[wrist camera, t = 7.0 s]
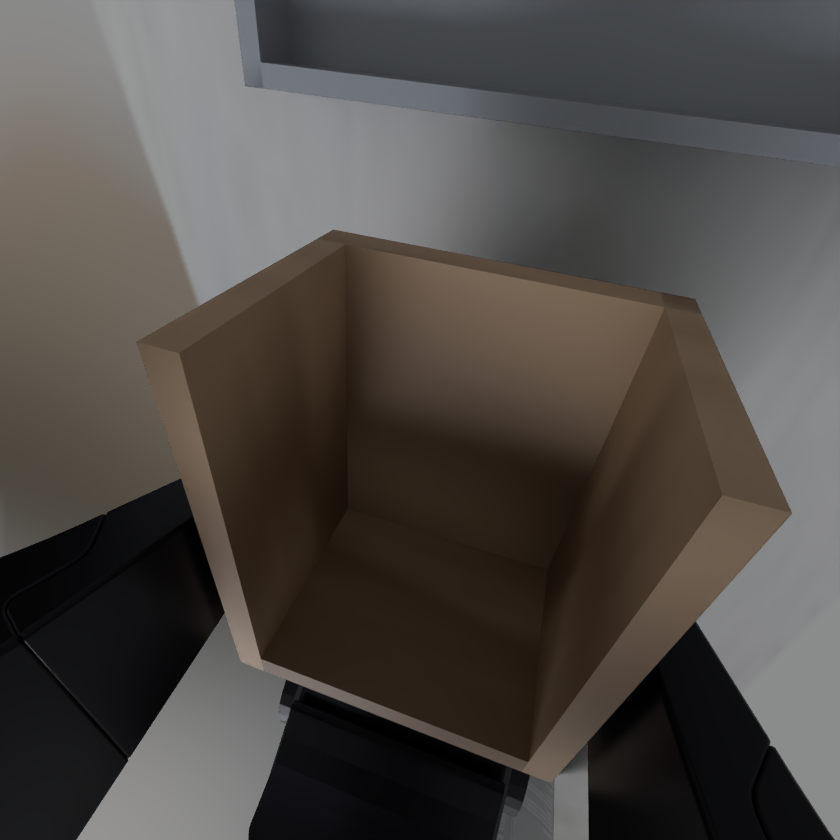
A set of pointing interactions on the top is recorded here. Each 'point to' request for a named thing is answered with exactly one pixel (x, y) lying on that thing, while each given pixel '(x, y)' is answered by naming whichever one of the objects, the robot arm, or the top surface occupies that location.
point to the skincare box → (531, 814)
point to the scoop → (460, 484)
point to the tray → (572, 65)
